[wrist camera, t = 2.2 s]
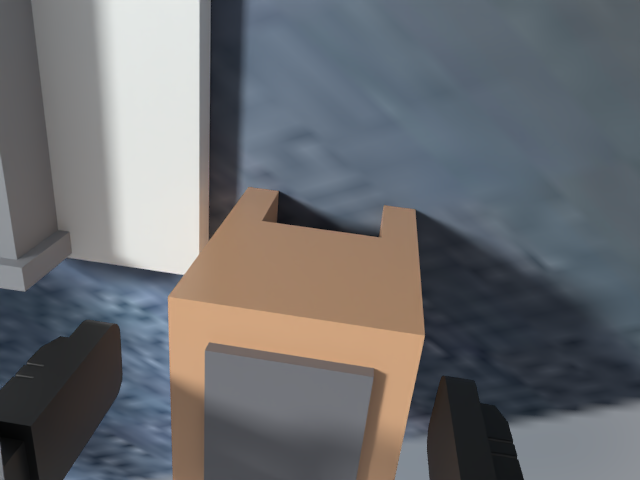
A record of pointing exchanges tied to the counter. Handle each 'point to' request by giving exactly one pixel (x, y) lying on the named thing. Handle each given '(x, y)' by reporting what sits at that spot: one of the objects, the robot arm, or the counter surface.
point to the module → (295, 349)
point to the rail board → (103, 134)
